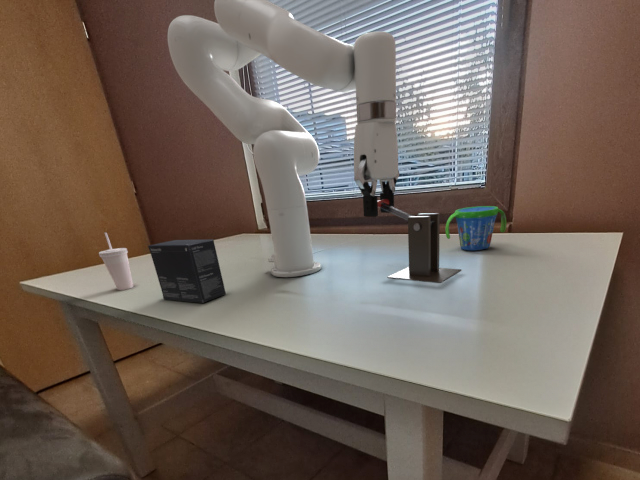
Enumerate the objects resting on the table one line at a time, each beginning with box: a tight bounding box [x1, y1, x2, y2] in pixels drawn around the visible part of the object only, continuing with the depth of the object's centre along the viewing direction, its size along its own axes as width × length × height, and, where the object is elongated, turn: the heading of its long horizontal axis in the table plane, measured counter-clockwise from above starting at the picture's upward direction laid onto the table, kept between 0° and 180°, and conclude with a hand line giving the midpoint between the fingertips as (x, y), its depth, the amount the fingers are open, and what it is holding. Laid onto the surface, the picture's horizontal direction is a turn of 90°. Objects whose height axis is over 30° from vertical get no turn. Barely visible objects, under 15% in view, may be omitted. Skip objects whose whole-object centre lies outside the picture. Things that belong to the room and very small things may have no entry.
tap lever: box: [378, 199, 434, 229], centre depth 77 cm, size 13×6×2 cm, turn 52°
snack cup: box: [444, 205, 507, 252], centre depth 99 cm, size 16×10×10 cm
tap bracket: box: [387, 212, 462, 284], centre depth 77 cm, size 12×10×13 cm
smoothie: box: [98, 232, 134, 291], centre depth 95 cm, size 6×6×14 cm
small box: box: [147, 238, 227, 304], centre depth 81 cm, size 13×7×12 cm, turn 61°
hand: (379, 213), depth 80 cm, fingers closed on tap lever, 5 cm apart
